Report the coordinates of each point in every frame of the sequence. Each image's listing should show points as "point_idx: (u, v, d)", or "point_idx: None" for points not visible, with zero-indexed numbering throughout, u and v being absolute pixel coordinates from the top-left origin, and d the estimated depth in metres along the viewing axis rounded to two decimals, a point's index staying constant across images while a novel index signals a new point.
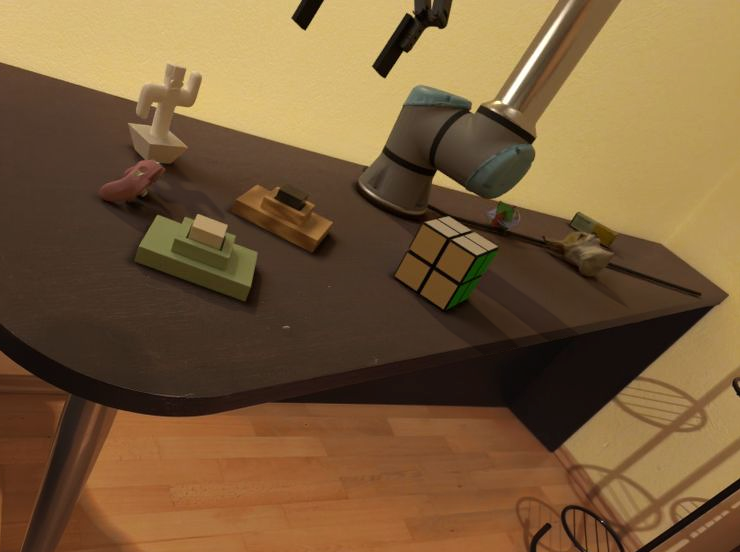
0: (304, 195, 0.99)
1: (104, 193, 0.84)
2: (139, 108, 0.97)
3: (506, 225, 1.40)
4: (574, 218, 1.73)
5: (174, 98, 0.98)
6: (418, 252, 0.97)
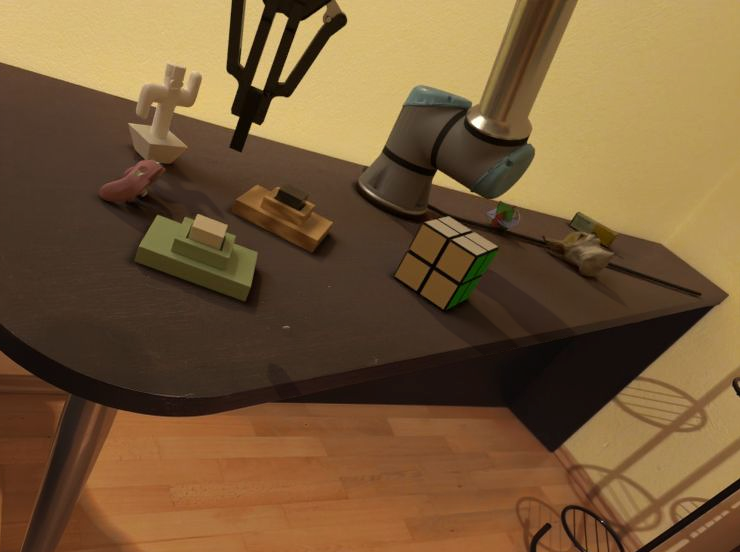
0: (304, 195, 0.99)
1: (104, 193, 0.84)
2: (139, 108, 0.97)
3: (506, 225, 1.40)
4: (574, 218, 1.73)
5: (174, 98, 0.98)
6: (418, 252, 0.97)
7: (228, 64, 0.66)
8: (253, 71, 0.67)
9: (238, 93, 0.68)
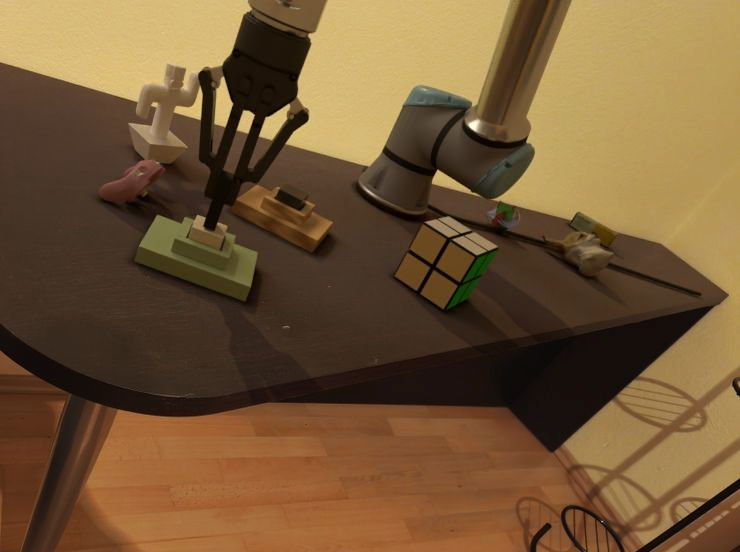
0: (304, 195, 0.99)
1: (104, 193, 0.84)
2: (139, 108, 0.97)
3: (506, 225, 1.40)
4: (574, 218, 1.73)
5: (174, 98, 0.98)
6: (418, 252, 0.97)
7: (200, 154, 0.72)
8: (223, 160, 0.72)
9: (210, 179, 0.74)
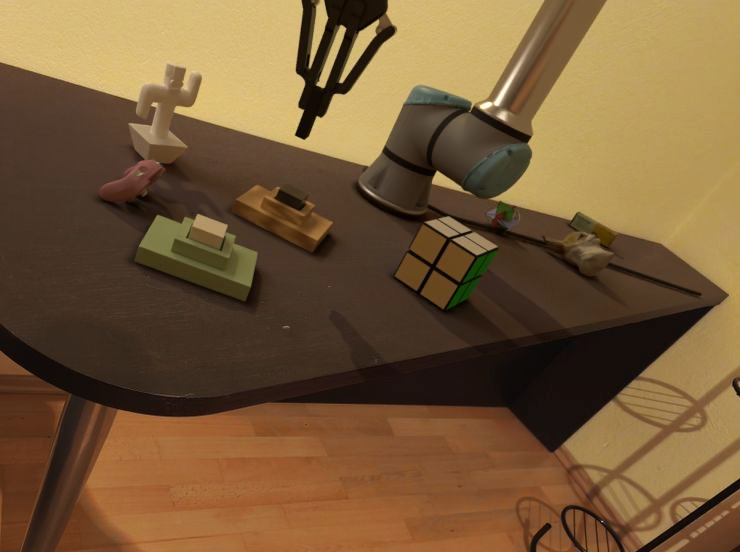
0: (304, 195, 0.99)
1: (104, 193, 0.84)
2: (139, 108, 0.97)
3: (506, 225, 1.40)
4: (574, 218, 1.73)
5: (174, 98, 0.98)
6: (418, 252, 0.97)
7: (297, 66, 0.82)
8: (317, 72, 0.82)
9: (304, 90, 0.84)
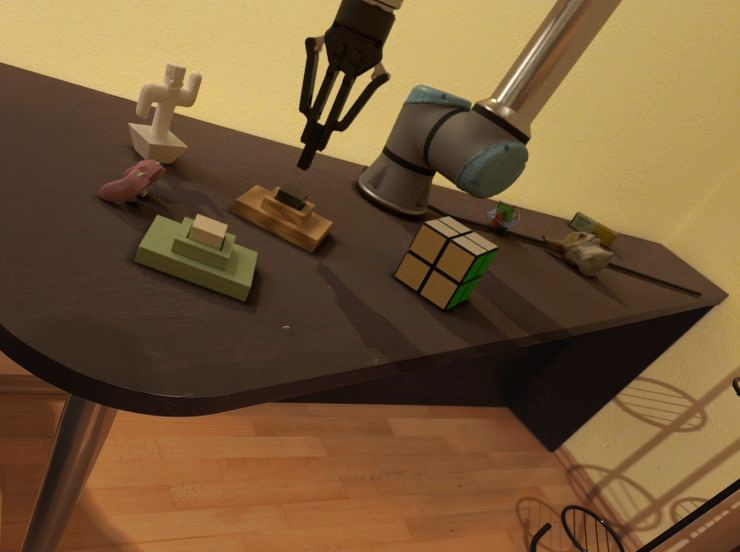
0: (304, 195, 0.99)
1: (104, 193, 0.84)
2: (139, 108, 0.97)
3: (506, 225, 1.40)
4: (574, 218, 1.73)
5: (174, 98, 0.98)
6: (418, 252, 0.97)
7: (300, 105, 0.91)
8: (317, 111, 0.91)
9: (306, 127, 0.93)
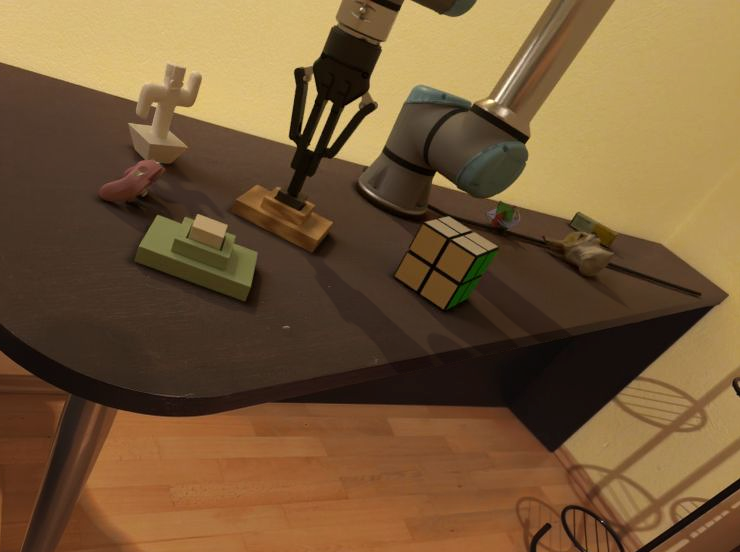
0: (303, 197, 0.99)
1: (104, 193, 0.84)
2: (139, 108, 0.97)
3: (506, 225, 1.40)
4: (574, 218, 1.73)
5: (174, 98, 0.98)
6: (418, 252, 0.97)
7: (290, 133, 0.93)
8: (307, 139, 0.93)
9: (296, 153, 0.95)
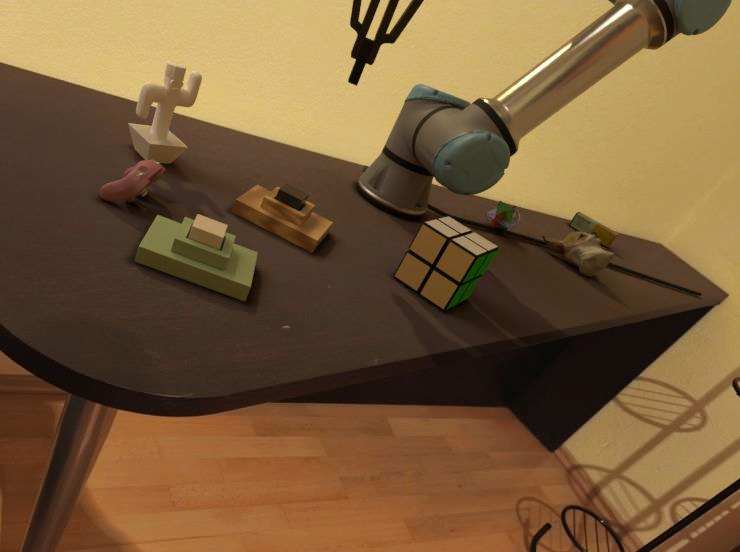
0: (304, 195, 0.99)
1: (104, 193, 0.84)
2: (139, 108, 0.97)
3: (506, 225, 1.40)
4: (574, 218, 1.73)
5: (174, 98, 0.98)
6: (418, 252, 0.97)
7: (351, 20, 0.95)
8: (369, 25, 0.95)
9: (357, 42, 0.97)
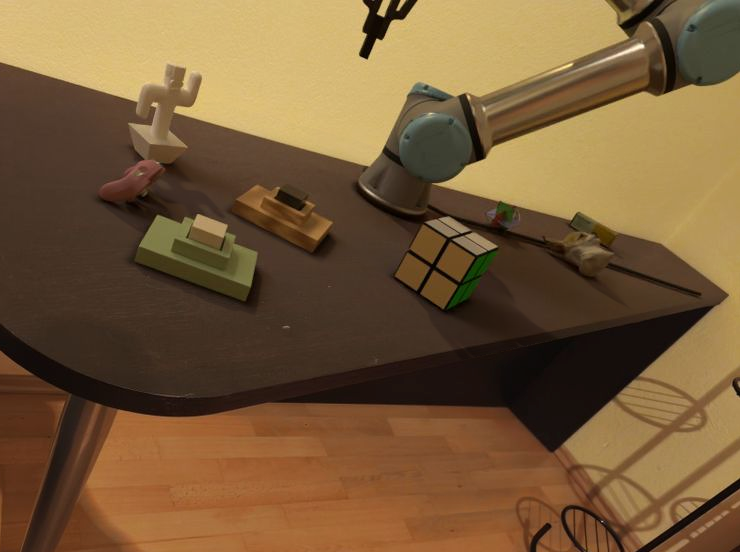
0: (304, 195, 0.99)
1: (104, 193, 0.84)
2: (139, 108, 0.97)
3: (506, 225, 1.40)
4: (574, 218, 1.73)
5: (174, 98, 0.98)
6: (418, 252, 0.97)
7: None
8: (381, 1, 1.01)
9: (368, 17, 1.03)
